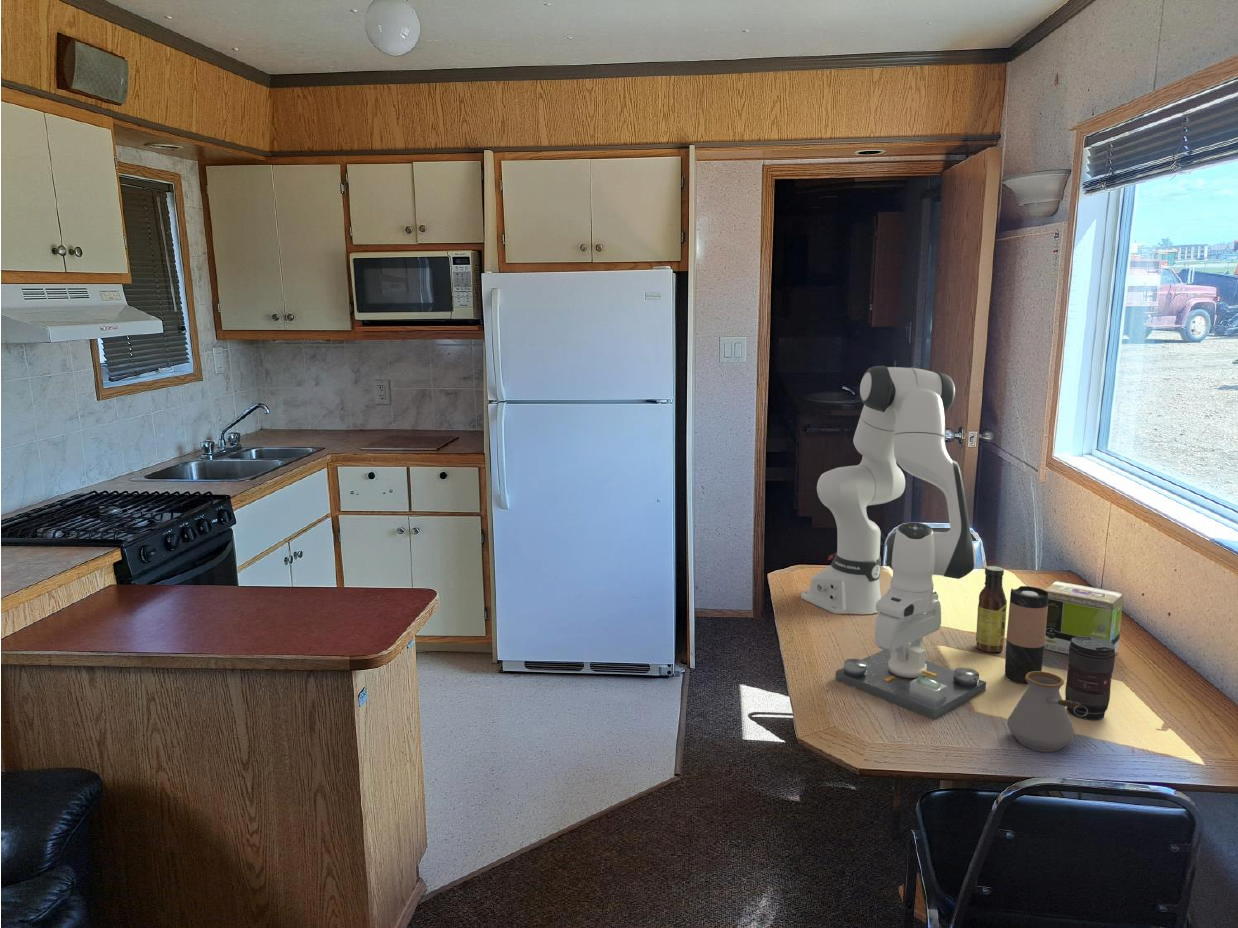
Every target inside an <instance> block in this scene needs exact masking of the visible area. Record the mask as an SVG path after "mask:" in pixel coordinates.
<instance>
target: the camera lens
mask: <svg viewBox="0 0 1238 928" xmlns="http://www.w3.org/2000/svg"><path fill="white" fill-rule="evenodd" d="M1067 655H1068V656H1067V657H1068V658H1067V665H1068V666H1067V675H1066V682H1065V692H1064V694H1065V696H1064V697H1065V699H1064V700H1071V701H1072V702H1074V701H1076V702H1078V703H1080V704H1082V705H1083V706H1084V707H1082V708H1077V709H1075V713H1076V714H1077V715H1079V716H1077V715H1076V714H1075V713H1074V708H1073V707H1072V708H1069V707H1066V711H1067V713H1069V714H1070V715H1072V716H1074V717H1076V718H1079V719H1083V720H1086V721H1087V720H1088V721H1097V720H1098V721H1099V720H1102V719H1103V718H1105V714H1106V712H1107V710H1108V709H1109V704H1110V699H1111V685H1112V677H1113V673H1114V669H1115V668H1114V667H1115V658H1116V654H1115V646H1114V645H1113V644H1112V643H1110V642H1108V641H1106V640H1103V639H1099V638H1095V637H1086V636H1079V637H1074V638H1072V640H1071V643H1070V646H1069V654H1067ZM1085 707H1086V708H1087V710H1088V713H1087V710H1086V708H1085ZM1086 713H1087V715H1085V714H1086ZM1083 715H1085V716H1083ZM1081 716H1082V717H1081Z"/></svg>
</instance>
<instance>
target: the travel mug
mask: <svg viewBox="0 0 1238 928" xmlns="http://www.w3.org/2000/svg"><path fill="white" fill-rule="evenodd" d="M1048 598H1049V594H1048V592H1046V591H1045V589H1042V588H1041V587H1035V586H1028V585H1021V586H1019V587H1018V588H1011V589H1010V596H1009V607H1008V618H1007V628H1006V637H1005V638H1006V639H1005V643H1006V644H1005V660H1004V661H1005V662H1004V665H1005V666H1004V676H1006V677H1005V678H1006V679H1007V680H1008V681H1010V682H1013V683H1016V684H1020V685H1027V686H1029V685H1028V683H1027V681H1026V680H1025V676H1026V674H1027V673H1029V672H1032V671H1042V670H1043V663H1044V662H1043V661H1044V653H1045V649H1044V647H1045V636H1046V624H1047V611H1048Z"/></svg>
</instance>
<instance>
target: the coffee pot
mask: <svg viewBox="0 0 1238 928" xmlns="http://www.w3.org/2000/svg"><path fill="white" fill-rule="evenodd" d="M1025 680H1026V681H1027V683H1028V685H1027V688H1026V689H1025V691H1024V693H1022V696H1021V698H1020V699H1019V701H1018V702H1017V704H1016V705H1015V707H1014V709H1013V710H1012V712H1011V713H1010V715H1008V718H1007V720H1006V721H1007V727H1008V729H1009V731H1010V733H1011V734H1012V735H1013V737H1014V738H1015V739H1016V740H1017V741H1018V742H1019V743H1020V744H1022V745H1023V746H1025V747H1026V748H1029V749H1032V750H1035V751H1040V752H1047V753H1049V752H1057V751H1059V750H1061V749H1062V748H1064V747H1066V746H1068V745H1069V744H1070V743H1071V742H1072V740H1073V739H1074V738H1075V729H1074V727H1073V724H1072V721H1071V719H1070V716H1069V714H1068V713H1069V712H1068V710H1067V707H1069V708H1072V707H1073V708H1074V713H1075V709H1077V708H1082V707H1084V706H1083V705H1082V704H1080V703H1078V702H1076V701H1074V702H1072V701H1071V700H1065V699H1063V697H1062V695H1061V692H1060V689H1061V687H1062V686H1064V685H1065V681H1064V679H1063V678H1062V677H1061V676H1059V675H1057V674H1055V673H1053V672H1048V671H1032V672H1029V673H1027V674H1026V676H1025ZM1085 708H1086V707H1085ZM1086 710H1087V708H1086ZM1087 713H1088V710H1087ZM1087 713H1086V714H1085V715H1087ZM1075 714H1076V713H1075ZM1076 715H1077V714H1076ZM1085 715H1083V716H1085ZM1077 716H1079V715H1077ZM1081 717H1082V716H1081Z"/></svg>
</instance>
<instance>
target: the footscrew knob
mask: <svg viewBox="0 0 1238 928" xmlns="http://www.w3.org/2000/svg"><path fill="white" fill-rule="evenodd" d="M905 651H906V653H908V660H907V661H905V662H900V661H898V660H897V651H896V649H895V650H893V651H891V658H890V659H889V661H888V670H889V671H890V672H891V673H893V674H895V675H898V676H901V677H906V678H918V677H919V676H924V675H928V676H931V677H933V678H936V677H937V674H935V673H932V672H929V671H926V669H927V665H926V663H925V661H926V651H927V649H924V648H921V647H920V648H918V647H916V646H913V645H911V643H908V644H907V647H906V648H905Z"/></svg>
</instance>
